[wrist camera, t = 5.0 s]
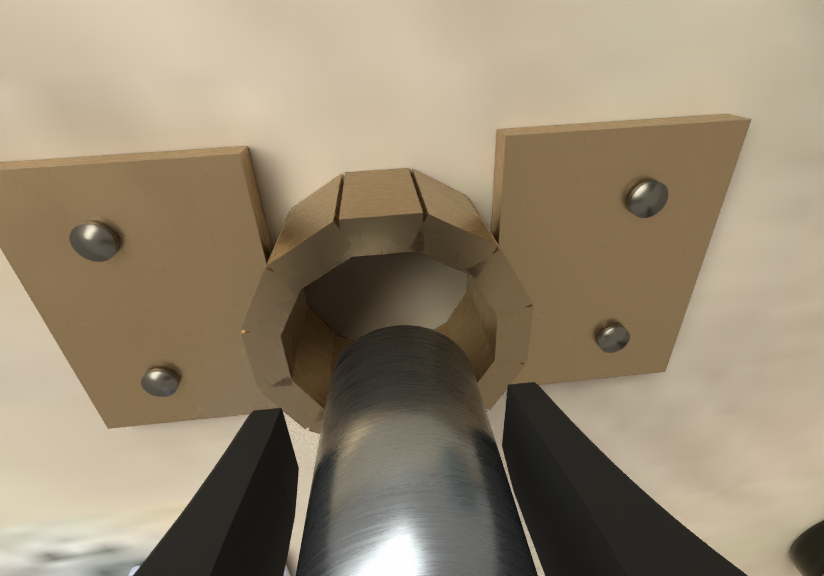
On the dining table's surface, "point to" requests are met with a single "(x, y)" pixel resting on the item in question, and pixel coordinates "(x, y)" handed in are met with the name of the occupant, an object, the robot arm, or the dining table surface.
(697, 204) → the hinge leaves
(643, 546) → the robot arm
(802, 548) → the supplement bottle
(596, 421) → the dining table surface
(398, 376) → the pin
